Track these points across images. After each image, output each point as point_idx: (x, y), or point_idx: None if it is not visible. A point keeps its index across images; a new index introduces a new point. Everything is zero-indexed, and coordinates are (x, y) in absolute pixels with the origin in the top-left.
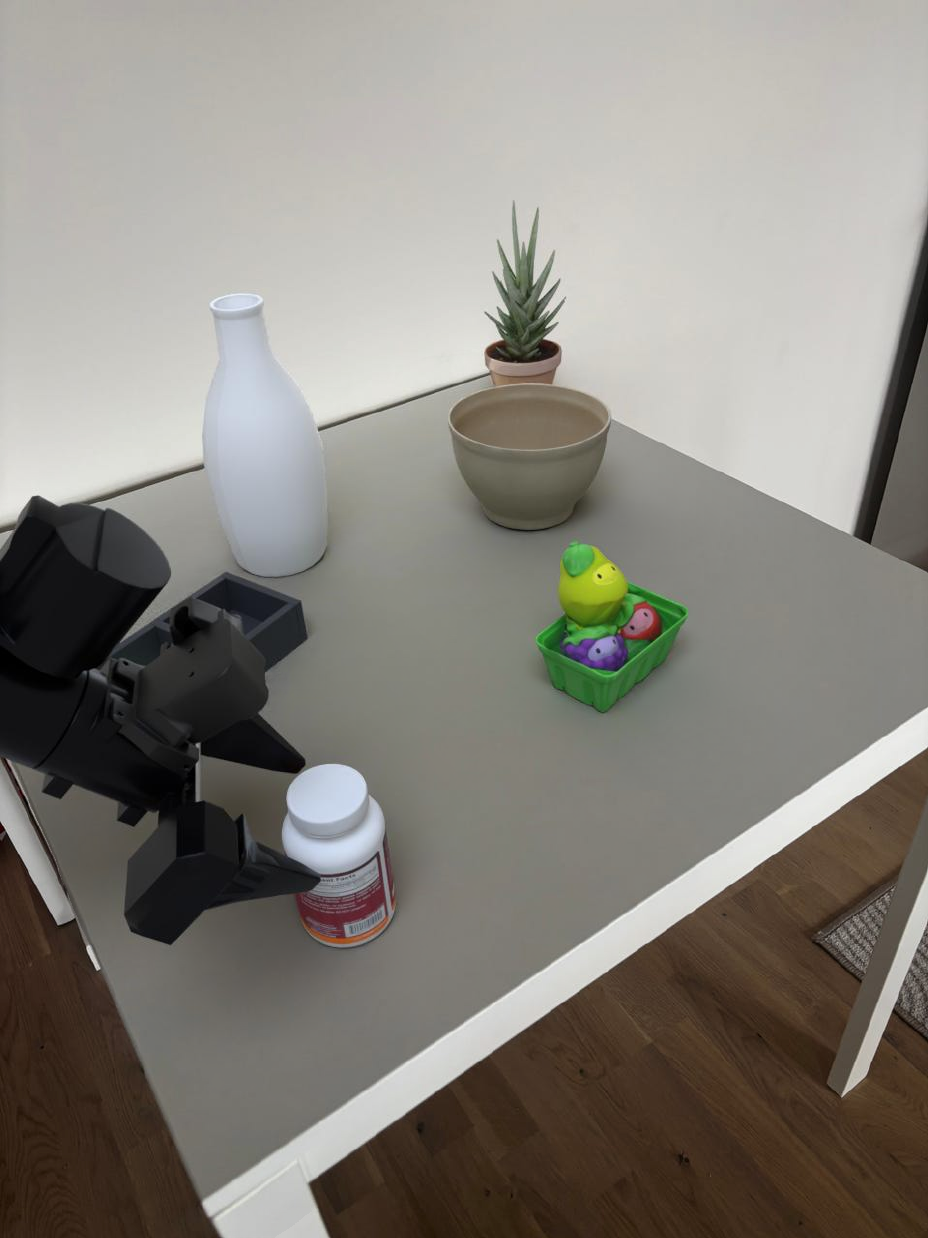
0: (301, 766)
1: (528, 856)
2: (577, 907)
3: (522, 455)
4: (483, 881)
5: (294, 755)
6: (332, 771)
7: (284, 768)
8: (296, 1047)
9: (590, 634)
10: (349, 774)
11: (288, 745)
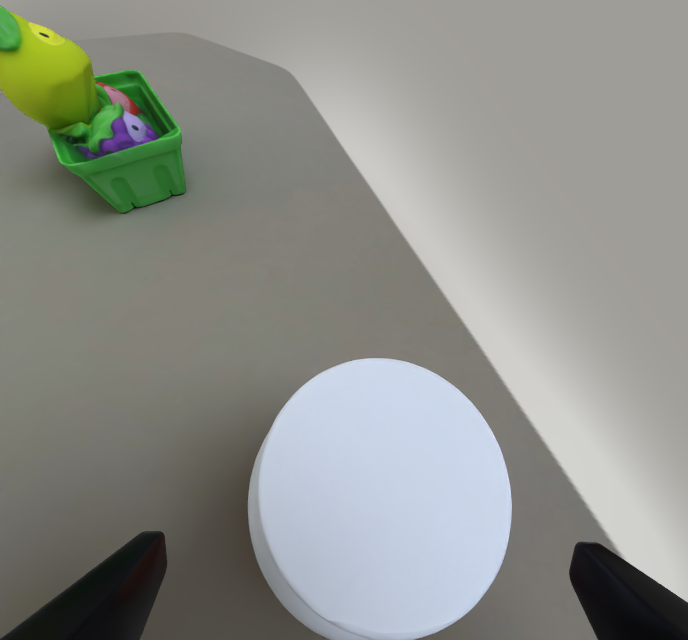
0: (161, 548)
1: (331, 292)
2: (400, 273)
3: None
4: (349, 338)
5: (130, 570)
6: (303, 438)
7: (141, 615)
8: (559, 626)
9: (110, 116)
10: (330, 392)
11: (81, 592)
